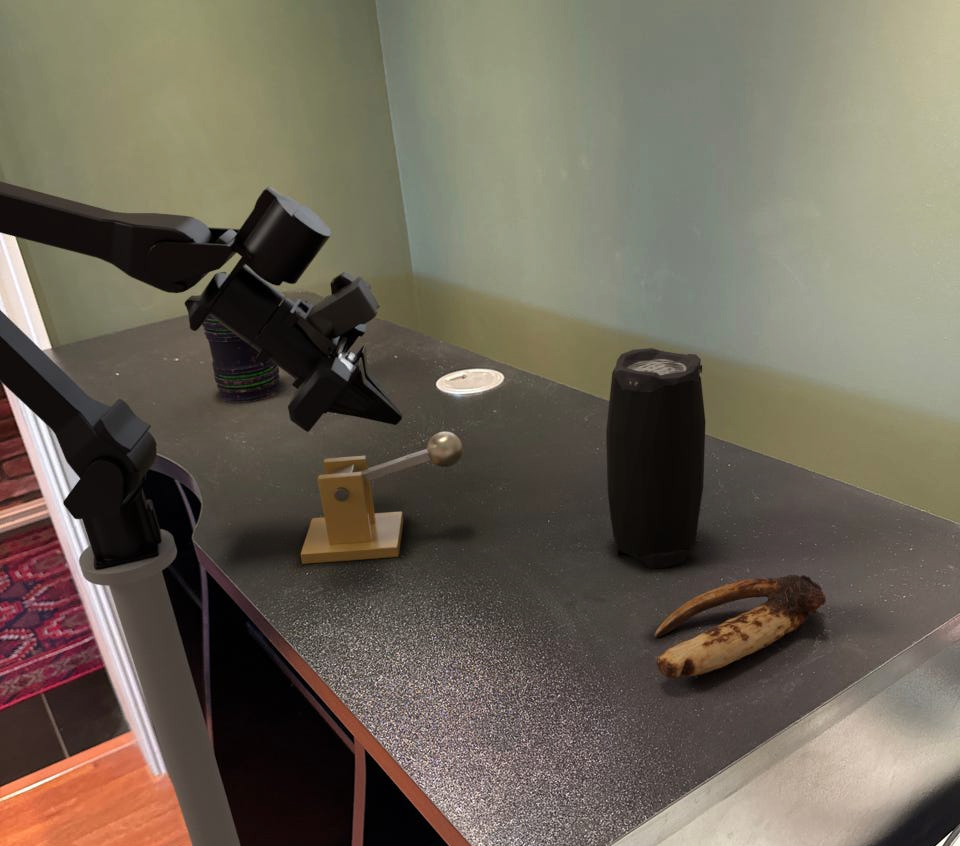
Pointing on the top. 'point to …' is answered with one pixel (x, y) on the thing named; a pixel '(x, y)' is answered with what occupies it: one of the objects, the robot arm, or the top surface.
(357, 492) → the tap bracket
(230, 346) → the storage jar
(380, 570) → the top surface
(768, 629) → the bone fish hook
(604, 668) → the top surface
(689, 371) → the portable speaker
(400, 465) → the tap lever
